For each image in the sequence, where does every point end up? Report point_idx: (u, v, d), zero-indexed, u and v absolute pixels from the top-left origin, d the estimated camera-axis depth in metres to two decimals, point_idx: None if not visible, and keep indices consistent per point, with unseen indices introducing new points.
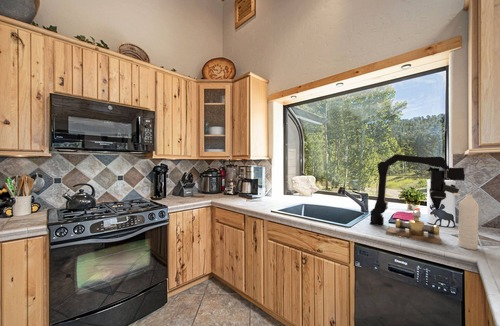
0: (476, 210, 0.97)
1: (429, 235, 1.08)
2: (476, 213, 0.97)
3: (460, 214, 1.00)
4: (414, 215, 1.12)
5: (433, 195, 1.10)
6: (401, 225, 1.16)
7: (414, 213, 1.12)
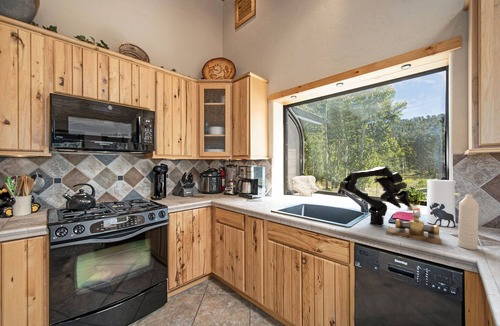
0: (476, 210, 0.97)
1: (429, 235, 1.08)
2: (476, 213, 0.97)
3: (460, 214, 1.00)
4: (414, 215, 1.12)
5: (382, 198, 1.25)
6: (401, 225, 1.16)
7: (414, 213, 1.12)
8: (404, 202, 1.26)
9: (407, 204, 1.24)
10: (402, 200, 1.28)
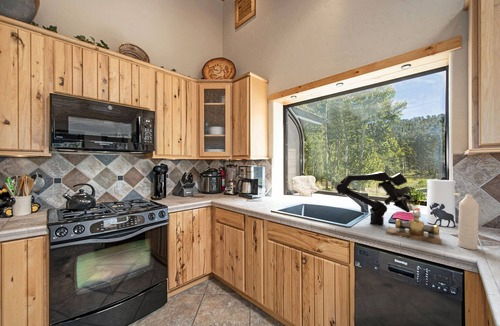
0: (476, 210, 0.97)
1: (429, 235, 1.08)
2: (476, 213, 0.97)
3: (460, 214, 1.00)
4: (414, 215, 1.12)
5: (386, 203, 1.23)
6: (401, 225, 1.16)
7: (414, 213, 1.12)
8: None
9: None
10: None
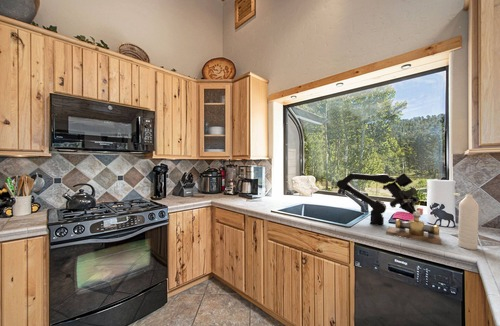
0: (476, 210, 0.97)
1: (429, 235, 1.08)
2: (476, 213, 0.97)
3: (460, 214, 1.00)
4: (414, 215, 1.12)
5: (392, 205, 1.20)
6: (401, 225, 1.16)
7: (414, 213, 1.12)
8: None
9: None
10: None
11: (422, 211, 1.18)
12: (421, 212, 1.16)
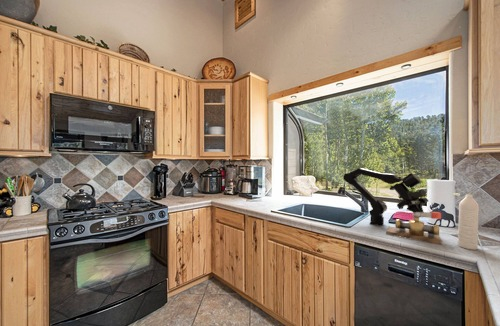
0: (476, 210, 0.97)
1: (429, 235, 1.08)
2: (476, 213, 0.97)
3: (460, 214, 1.00)
4: (413, 214, 1.14)
5: (399, 207, 1.16)
6: (401, 225, 1.16)
7: (413, 212, 1.14)
8: (418, 211, 1.16)
9: None
10: None
11: (438, 215, 1.10)
12: (432, 215, 1.10)
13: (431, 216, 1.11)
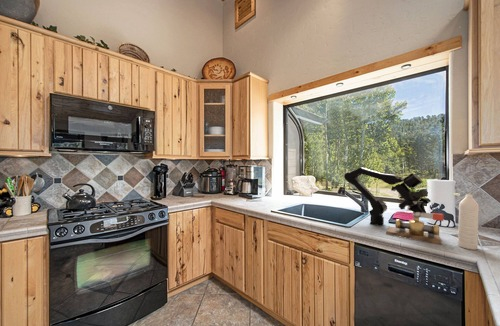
0: (476, 210, 0.97)
1: (429, 235, 1.08)
2: (476, 213, 0.97)
3: (460, 214, 1.00)
4: None
5: (401, 207, 1.15)
6: (401, 225, 1.16)
7: None
8: None
9: None
10: None
11: (440, 217, 1.07)
12: (432, 216, 1.08)
13: (432, 217, 1.08)
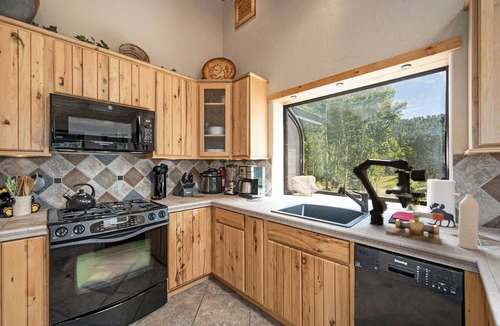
0: (476, 210, 0.97)
1: (429, 235, 1.08)
2: (476, 213, 0.97)
3: (460, 214, 1.00)
4: None
5: None
6: (401, 225, 1.16)
7: None
8: None
9: None
10: None
11: (440, 217, 1.07)
12: (432, 216, 1.08)
13: (432, 217, 1.08)
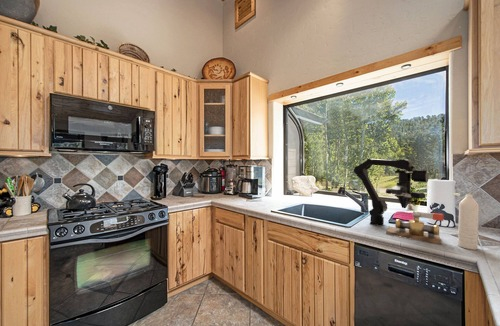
0: (476, 210, 0.97)
1: (429, 235, 1.08)
2: (476, 213, 0.97)
3: (460, 214, 1.00)
4: None
5: None
6: (401, 225, 1.16)
7: None
8: None
9: None
10: None
11: (440, 217, 1.07)
12: (432, 216, 1.08)
13: (432, 217, 1.08)
